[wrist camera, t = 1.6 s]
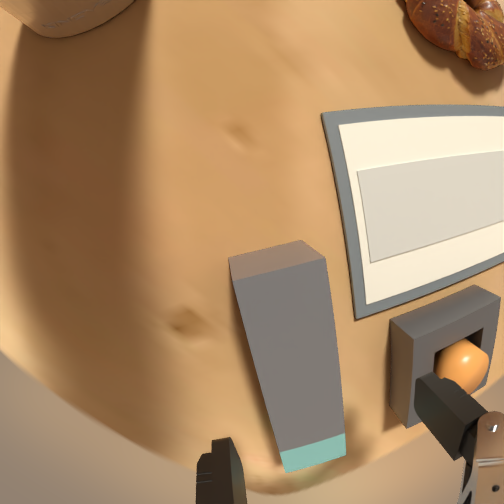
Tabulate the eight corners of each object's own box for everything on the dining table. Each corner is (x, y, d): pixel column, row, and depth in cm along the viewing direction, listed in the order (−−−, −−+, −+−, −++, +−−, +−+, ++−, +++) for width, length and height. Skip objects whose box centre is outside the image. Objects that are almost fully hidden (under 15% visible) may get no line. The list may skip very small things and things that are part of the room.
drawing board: (320, 113, 16) (323, 112, 15) (507, 107, 17) (511, 107, 16) (354, 317, 18) (357, 320, 18) (520, 251, 19) (524, 252, 19)
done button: (430, 348, 18) (452, 366, 15) (470, 328, 18) (492, 343, 15) (426, 390, 18) (444, 409, 16) (464, 370, 19) (483, 386, 16)
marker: (228, 257, 17) (232, 281, 13) (301, 239, 17) (325, 257, 13) (275, 432, 20) (285, 473, 16) (328, 417, 20) (346, 455, 16)
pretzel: (501, 22, 15) (527, 13, 12) (489, 105, 17) (524, 101, 13) (398, -64, 13) (420, -85, 9) (366, 4, 14) (394, -21, 11)
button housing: (389, 318, 19) (413, 339, 16) (474, 284, 19) (500, 297, 16) (389, 405, 21) (406, 428, 18) (465, 368, 21) (485, 384, 18)
